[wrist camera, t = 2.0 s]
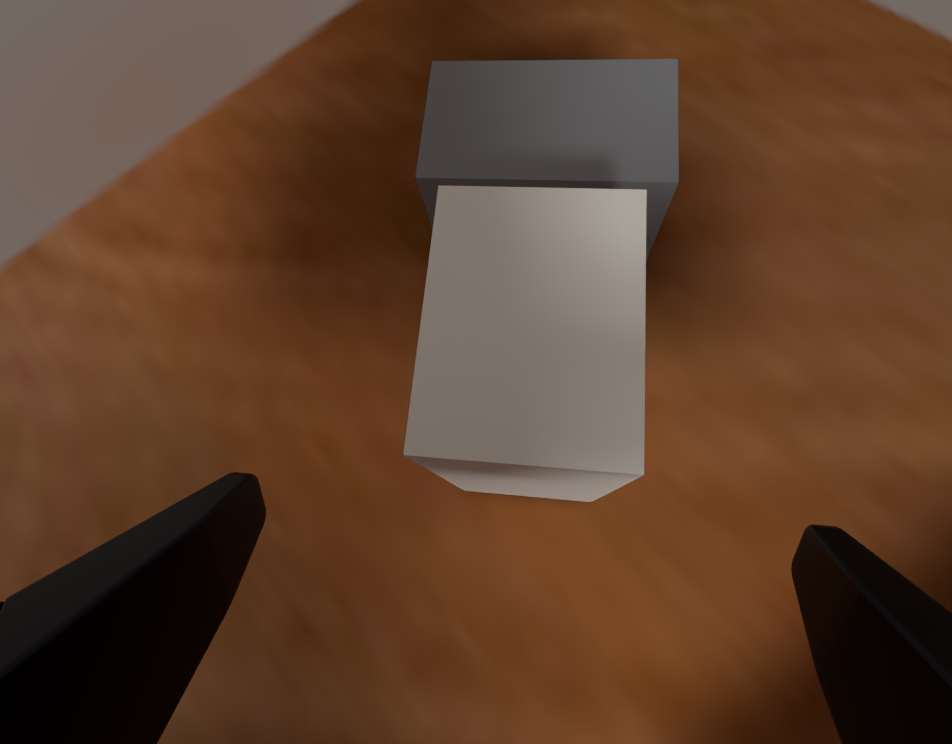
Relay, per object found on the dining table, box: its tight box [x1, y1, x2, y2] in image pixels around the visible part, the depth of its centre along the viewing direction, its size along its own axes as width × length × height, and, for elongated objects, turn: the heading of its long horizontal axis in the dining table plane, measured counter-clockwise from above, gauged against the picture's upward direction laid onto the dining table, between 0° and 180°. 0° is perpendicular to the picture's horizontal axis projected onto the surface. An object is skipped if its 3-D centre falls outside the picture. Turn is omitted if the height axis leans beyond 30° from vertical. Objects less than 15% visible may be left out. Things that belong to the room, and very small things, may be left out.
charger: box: [403, 185, 647, 502], centre depth 16 cm, size 10×4×10 cm, turn 175°
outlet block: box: [415, 59, 679, 260], centre depth 19 cm, size 4×7×8 cm, turn 85°
